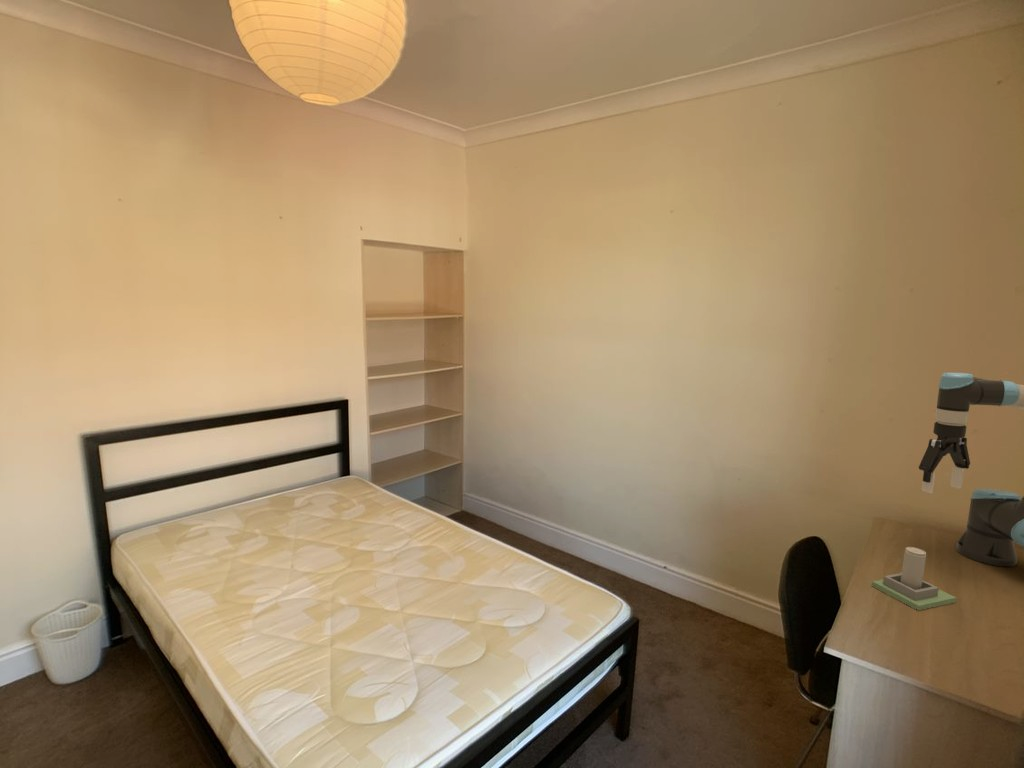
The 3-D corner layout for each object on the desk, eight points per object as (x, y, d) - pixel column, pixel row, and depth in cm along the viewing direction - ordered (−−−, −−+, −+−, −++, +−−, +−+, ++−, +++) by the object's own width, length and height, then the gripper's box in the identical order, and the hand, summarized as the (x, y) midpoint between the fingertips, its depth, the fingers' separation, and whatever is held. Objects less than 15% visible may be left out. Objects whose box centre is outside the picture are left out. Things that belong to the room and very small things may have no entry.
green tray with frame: (907, 579, 156) (909, 566, 156) (955, 602, 144) (957, 589, 144) (871, 586, 152) (873, 573, 151) (918, 610, 140) (920, 597, 139)
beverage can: (923, 595, 144) (929, 555, 143) (903, 592, 146) (909, 552, 144) (916, 587, 149) (922, 548, 147) (896, 584, 150) (902, 545, 149)
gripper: (962, 418, 165) (953, 481, 168) (909, 423, 156) (901, 490, 159) (990, 423, 158) (981, 489, 161) (937, 428, 149) (927, 498, 152)
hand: (941, 489), depth 160 cm, fingers open, 13 cm apart
